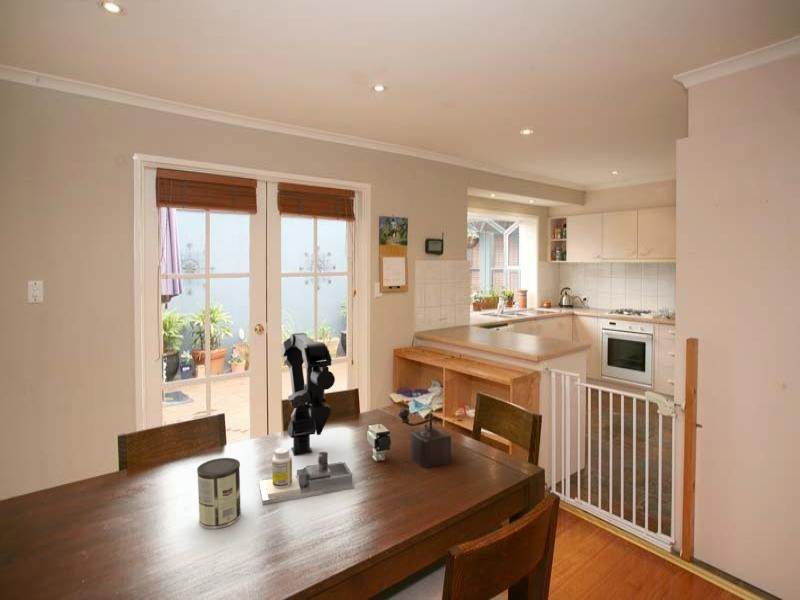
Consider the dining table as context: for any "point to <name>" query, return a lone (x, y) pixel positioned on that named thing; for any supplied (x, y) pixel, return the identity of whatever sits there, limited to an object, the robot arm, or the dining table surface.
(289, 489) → the plate
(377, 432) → the pneumatic valve
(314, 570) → the dining table surface
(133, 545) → the dining table surface
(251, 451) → the dining table surface
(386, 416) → the dining table surface
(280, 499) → the press base
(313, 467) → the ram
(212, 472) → the coffee can
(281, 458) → the supplement bottle
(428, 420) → the pepper mill
